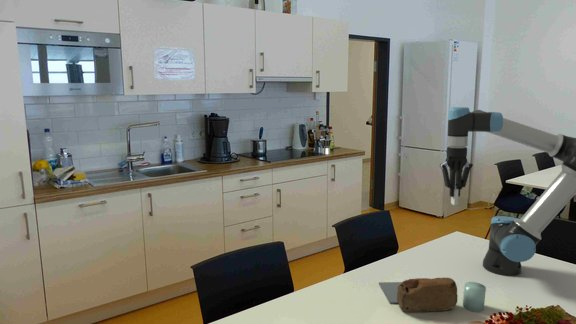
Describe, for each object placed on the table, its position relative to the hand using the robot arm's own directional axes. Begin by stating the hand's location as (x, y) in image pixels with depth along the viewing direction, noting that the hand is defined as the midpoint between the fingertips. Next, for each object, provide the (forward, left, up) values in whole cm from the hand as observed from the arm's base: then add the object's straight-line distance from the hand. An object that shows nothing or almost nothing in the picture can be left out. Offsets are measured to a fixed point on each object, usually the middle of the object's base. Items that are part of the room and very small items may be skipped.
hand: (454, 204), depth 174 cm
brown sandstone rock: (+9, +25, -25) cm, 37 cm away
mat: (+23, +14, -31) cm, 41 cm away
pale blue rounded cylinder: (+2, +25, -31) cm, 40 cm away
